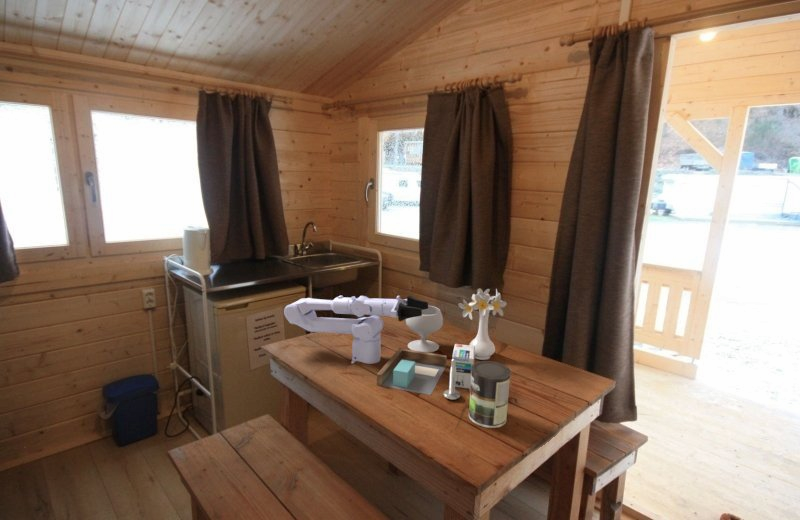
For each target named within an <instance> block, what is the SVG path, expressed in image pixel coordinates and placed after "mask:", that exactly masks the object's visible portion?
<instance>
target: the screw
mask: <svg viewBox="0 0 800 520" xmlns="http://www.w3.org/2000/svg"><path fill="white" fill-rule="evenodd" d="M455 379H456V360H455V359H452V358H451V360H450V368H449V383H448V389H445V391H443V394H442V395H443V396H444V398H447V399H448V400H451V401H453V400H457V399H459V398H460V397H461V393H460V392H459V391H458V390H456V387H455V385H456V384H455V383H456V382H455V381H456V380H455Z"/></svg>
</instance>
